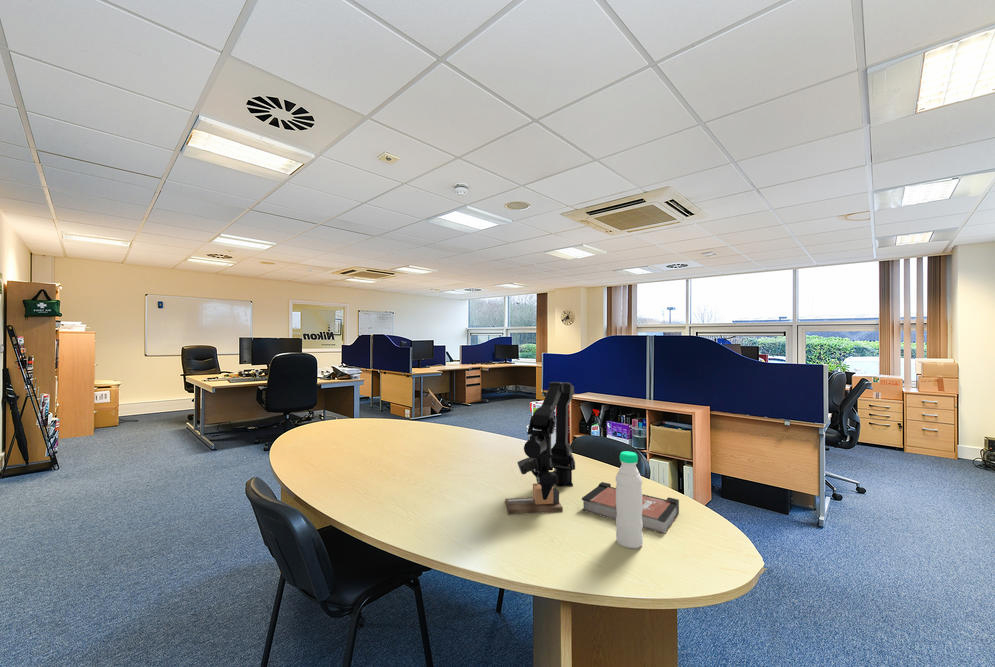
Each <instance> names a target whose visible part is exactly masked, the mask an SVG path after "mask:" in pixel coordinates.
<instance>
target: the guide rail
mask: <svg viewBox="0 0 995 667" xmlns="http://www.w3.org/2000/svg"><path fill="white" fill-rule="evenodd" d="M559 502H560V491H559V490H558V488H557V487H553V504H559ZM534 503H535V499H534V498H533V499H512V500H508V505H514V504H534Z"/></svg>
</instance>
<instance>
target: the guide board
mask: <svg viewBox="0 0 995 667" xmlns="http://www.w3.org/2000/svg"><path fill="white" fill-rule="evenodd" d="M512 499H533V496H532V497H513V498H511V497H510V498H504V504H506V505H505V507H506V512H507V514H508V515H524V514H527V513H528V514H543V512H544V514H545V512H547V513H561V512H562V511H563V510H564V509H563V508H564V507H563V505H562V504H561V502H560V501H559V504H537V505H536V504H535V503H534V504H514V505H508V500H512Z"/></svg>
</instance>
